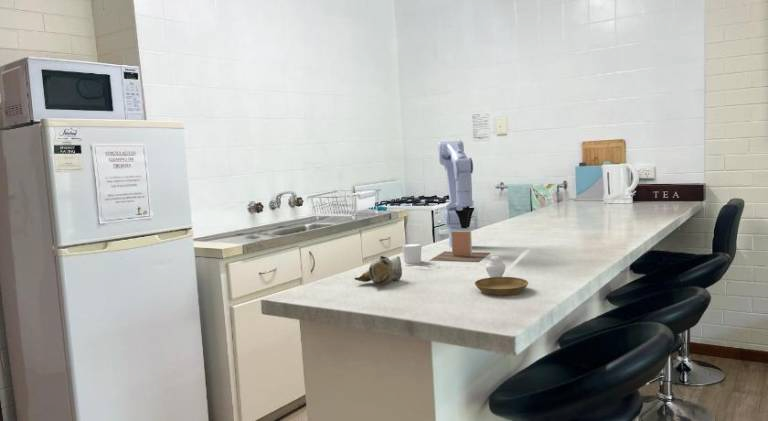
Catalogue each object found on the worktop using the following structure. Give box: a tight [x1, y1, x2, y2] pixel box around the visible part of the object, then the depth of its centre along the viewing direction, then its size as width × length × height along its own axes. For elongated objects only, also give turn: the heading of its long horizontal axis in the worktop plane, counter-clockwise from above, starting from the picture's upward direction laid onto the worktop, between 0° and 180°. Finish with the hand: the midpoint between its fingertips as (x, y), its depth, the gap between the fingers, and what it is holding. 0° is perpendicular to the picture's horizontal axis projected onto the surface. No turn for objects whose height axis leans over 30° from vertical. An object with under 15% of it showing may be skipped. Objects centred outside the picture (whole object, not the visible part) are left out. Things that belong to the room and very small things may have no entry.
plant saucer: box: [474, 276, 529, 297], centre depth 167 cm, size 15×15×3 cm
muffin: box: [484, 255, 507, 278], centre depth 182 cm, size 6×6×7 cm
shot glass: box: [401, 243, 423, 267], centre depth 209 cm, size 7×7×7 cm
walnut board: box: [428, 250, 491, 263], centre depth 215 cm, size 18×18×1 cm
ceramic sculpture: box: [354, 255, 403, 286], centre depth 183 cm, size 11×9×15 cm
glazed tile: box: [451, 230, 473, 256], centre depth 216 cm, size 2×7×9 cm, turn 66°
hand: (465, 227), depth 220 cm, fingers open, 2 cm apart
